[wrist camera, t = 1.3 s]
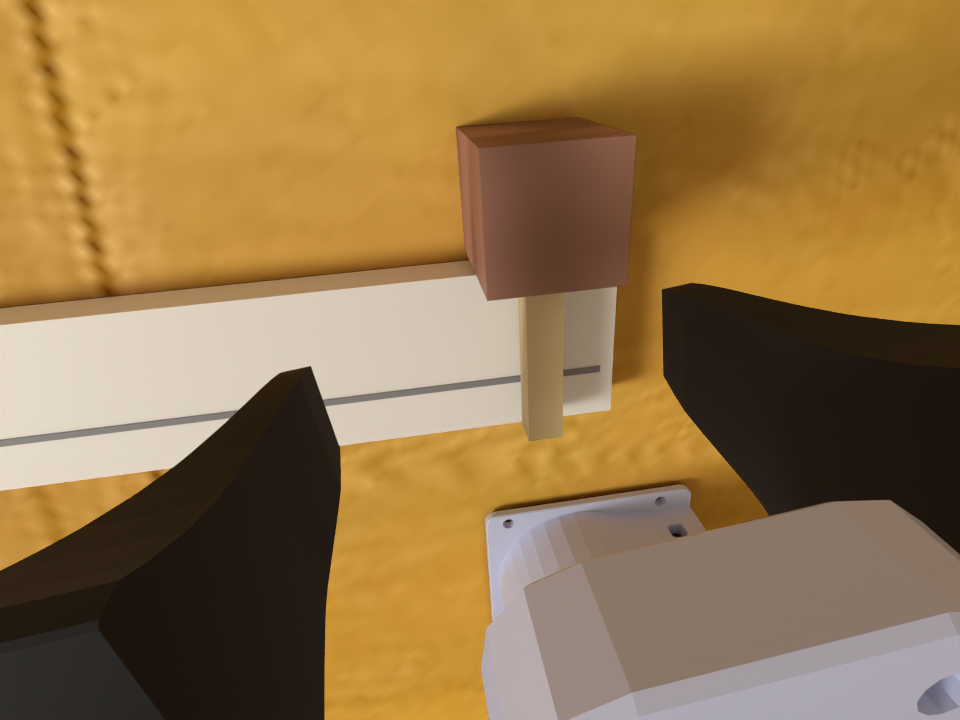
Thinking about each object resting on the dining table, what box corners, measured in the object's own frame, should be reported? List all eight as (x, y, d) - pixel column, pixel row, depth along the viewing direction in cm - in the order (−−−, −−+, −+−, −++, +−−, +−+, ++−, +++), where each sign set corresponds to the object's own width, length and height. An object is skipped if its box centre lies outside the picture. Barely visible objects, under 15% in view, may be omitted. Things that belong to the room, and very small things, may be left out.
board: (602, 246, 21) (618, 260, 20) (596, 389, 24) (610, 410, 22) (-56, 314, 19) (-93, 335, 17) (23, 462, 22) (-4, 492, 20)
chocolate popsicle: (577, 117, 19) (636, 134, 15) (572, 382, 24) (616, 456, 19) (455, 126, 19) (478, 148, 14) (475, 395, 23) (497, 473, 19)
